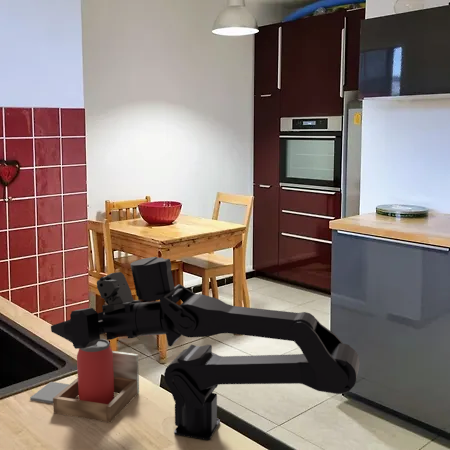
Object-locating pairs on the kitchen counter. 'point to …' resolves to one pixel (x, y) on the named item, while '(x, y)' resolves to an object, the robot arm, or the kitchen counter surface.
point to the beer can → (96, 373)
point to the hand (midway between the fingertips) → (66, 324)
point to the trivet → (48, 392)
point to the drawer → (123, 384)
